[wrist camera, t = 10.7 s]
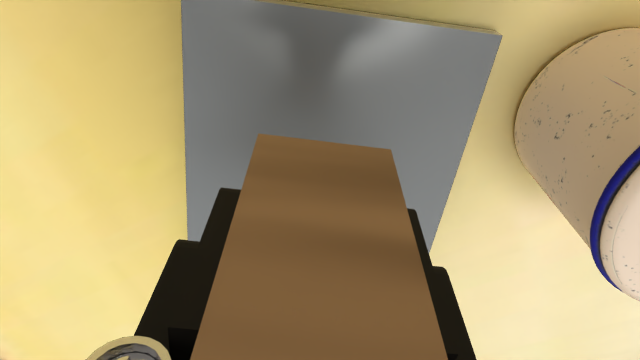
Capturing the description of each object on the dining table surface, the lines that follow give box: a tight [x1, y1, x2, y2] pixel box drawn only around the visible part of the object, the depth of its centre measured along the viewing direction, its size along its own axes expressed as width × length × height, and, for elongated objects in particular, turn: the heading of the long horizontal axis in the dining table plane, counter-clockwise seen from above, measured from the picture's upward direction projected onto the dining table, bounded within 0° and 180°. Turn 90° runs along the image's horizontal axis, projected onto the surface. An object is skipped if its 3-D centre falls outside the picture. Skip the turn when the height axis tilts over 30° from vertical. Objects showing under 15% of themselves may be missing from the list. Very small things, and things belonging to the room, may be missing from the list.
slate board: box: [181, 0, 503, 253], centre depth 24 cm, size 20×14×1 cm
